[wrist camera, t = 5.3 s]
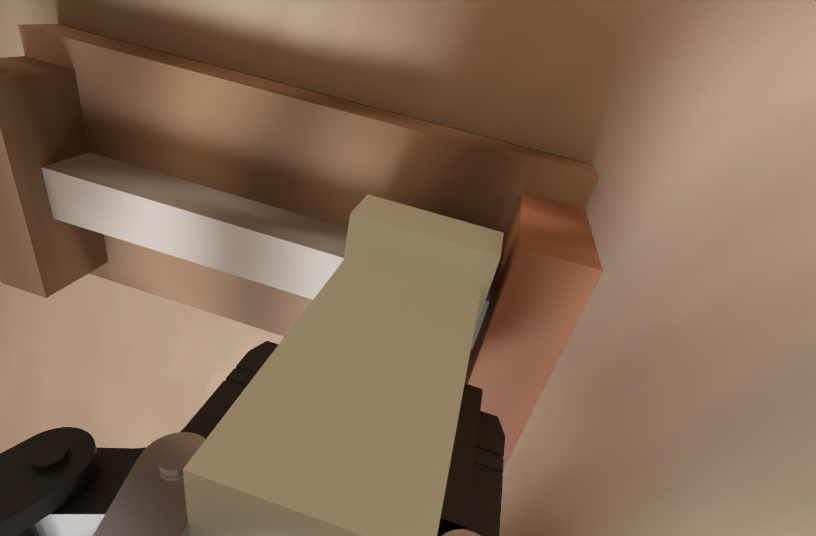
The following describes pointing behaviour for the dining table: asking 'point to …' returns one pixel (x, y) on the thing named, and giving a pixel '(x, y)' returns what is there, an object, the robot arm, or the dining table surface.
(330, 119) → the track
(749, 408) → the dining table surface
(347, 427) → the slider
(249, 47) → the dining table surface
